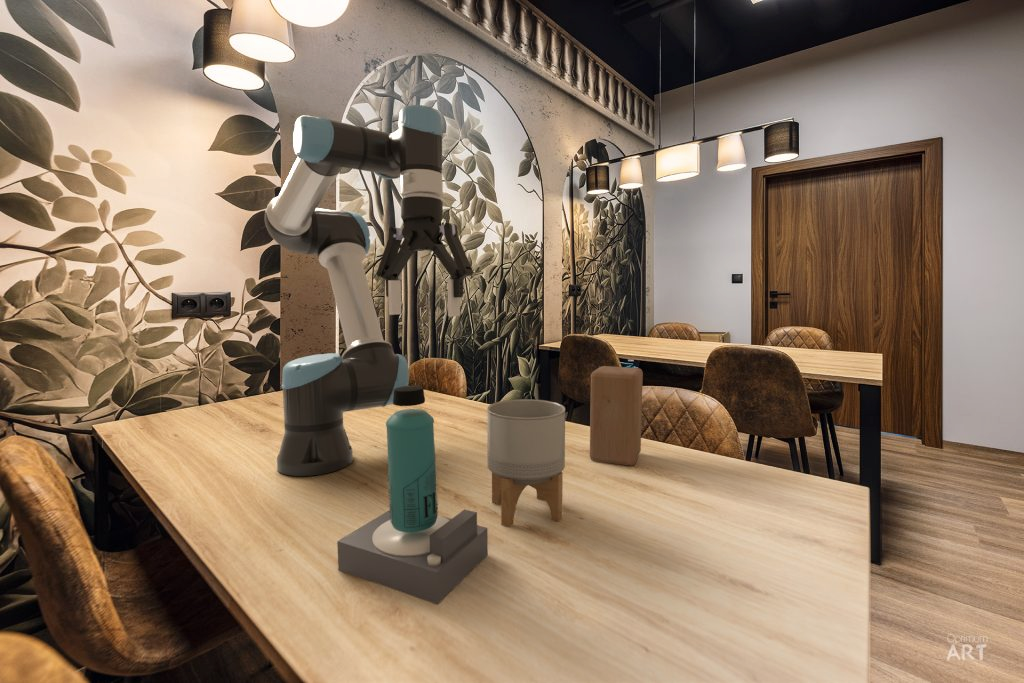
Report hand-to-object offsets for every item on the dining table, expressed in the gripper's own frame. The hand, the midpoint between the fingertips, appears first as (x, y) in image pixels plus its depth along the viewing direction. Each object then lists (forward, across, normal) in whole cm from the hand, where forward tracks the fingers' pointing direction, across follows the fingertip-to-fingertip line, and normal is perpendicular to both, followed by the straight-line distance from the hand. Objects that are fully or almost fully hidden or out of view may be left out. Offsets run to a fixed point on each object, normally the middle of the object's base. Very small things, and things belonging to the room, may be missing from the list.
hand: (423, 315), depth 88 cm
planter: (+33, +22, -2) cm, 39 cm away
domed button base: (+32, +15, -23) cm, 42 cm away
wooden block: (+33, +29, +32) cm, 54 cm away
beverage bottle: (+28, +15, -22) cm, 39 cm away
